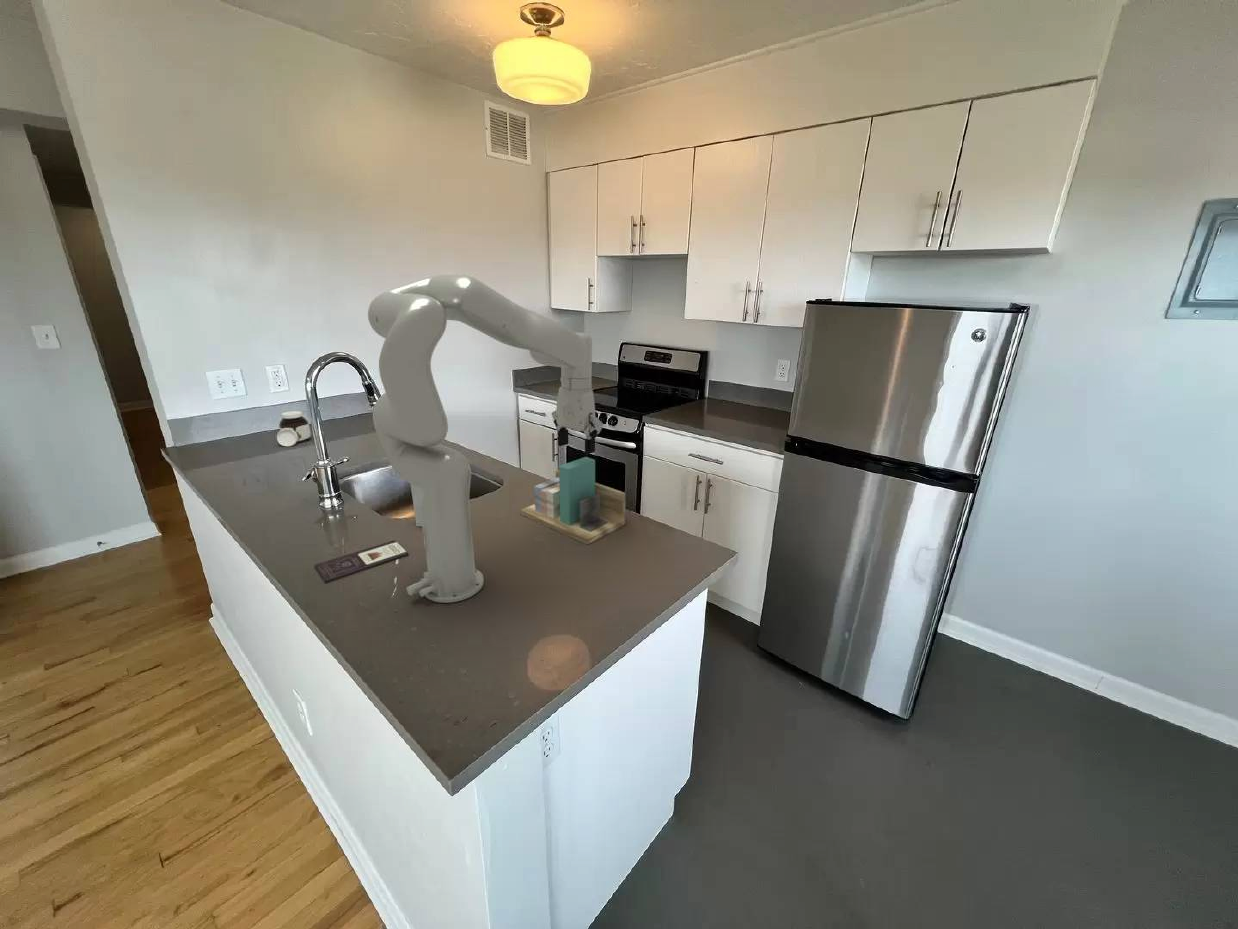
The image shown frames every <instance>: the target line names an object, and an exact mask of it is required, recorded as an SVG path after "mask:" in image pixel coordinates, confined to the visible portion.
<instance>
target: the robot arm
mask: <svg viewBox="0 0 1238 929" xmlns="http://www.w3.org/2000/svg"><path fill="white" fill-rule="evenodd" d="M367 310H368V311H367V318H368V322H369V324H370V327H371V328H372V330H373V331H374V333H376V334H377V335H379V336H380V337H382V338H384V342H383V345H382V347H381V350H380V355H379V359H378V372H379V376H380V380H381V383H382V386H383V390H384V393H383V394H381V396H379V398H378V399H377V400H376V402H375V403H374V406H373V410H372V421H373V426H374V428H375V431H376V434H377V436H378V440H379V441H380V443H381V446H382V448H383V450H384V452H385V455H386V457H387V459H388V461H389V464H390V465H391V468H392V470H393V472H394V473H395V474H396V475H397V476H398V478H400V479H402V481H405V482H407V483H409V484H410V483H411V484H413V485H415V486H417V487H419V488H421V489H422V490H423V492H424V498H423V502H422V506H421V522H422V526H421V527H422V534H423V543H424V551H425V558H426V564H427V570H426V571H425V572H423V574H422V575H423V577H422V578H420V580H419V581H418V582H415V583H413V584H410V585H409V586H406V592H407V594H408V596H413V595H415V594H418V593H419V595H420V597H425V598H426V599H428V600H429V601H433V602H436V603H444V604H445V603H456V602H457V603H458V602H459V601H460V602H461V601H464V600H466V599H469V598H471V597H473V596H474V595H475V594H477V593H478V592H479V591H481V589H482V588H483V586H484V583H485V581H484V580H485V578H484V574H483V573H482V572H481V571H480V570H478V569H477V568H476V564H475V563H476V562H475V552H474V543H473V532H472V523H471V522H472V521H471V519H472V518H471V512H470V510H471V509H470V488H471V480H472V470H471V465H470V463H469V460H468V459H467V458H466V457H465V455H464V454H462V453H461V452H460V451H458V450H456V449H454V448H452V447H449V446H446V445H443V444H441V443H442V442H443V441H444V440H445V439H446V437H447V434H448V432H449V424H448V423H449V422H448V419H447V415H446V411H445V409H444V406H443V403H442V401H441V397H440V394H439V392H438V389H437V386H436V383H435V380H434V375H433V373H432V357H433V354H434V351H435V349H436V347H437V345H438V344H439V342H440V340H441V339H442V338H443V335H444V334H445V332H446V330H447V329H446V328H447V324H448V321H456V322H460V323H462V324H465V325H466V326H468V327H470V328H472V329H475V330H476V331H479V332H481V333H482V334H484V335H486V336H489V338H491V339H493V340H496V341H497V342H499V343H502V344H504V345H506V346H510V347H513V348H516V349H517V348H518V349H521V350H522V349H523V350H527V351H529V353H530V357H531V358H532V359H533V360H534V361H535V362H536V363H538V364H540V365H543V366H549V367H556V368H561V369H560V372H561V375H560V376H561V377H560V379H559V380H560V382H561V385H560V387H559V389H558V393H557V400H556V409H555V410H554V411H552V412H551V418H552V420H553V423H554V425H555V430H556V431H557V445H558V446H559V447H563V446H566V445H568V444H569V430H573V431H576V432H583V433H584V436H585V439H584V454H585V455H589V454H590V455H591V454H593V453H595V452H596V439H597V438H598V436H599V435H600V434H601V432H602V429H603V426H604V423H603V422H602V421H601V420H600V419H599V418H598V417H597V416H596V406H595V398H594V397H595V395H594V391H593V389H592V375H593V374H592V370H593V369H592V366H593V365H592V363H593V359H592V358H593V339H592V335H590V334H588V333H586V332H578V331H573V330H572V329H570V328H568V327H567V326H565V325H564V324H562V323H559V322H558V321H555V320H553V319H551V318H549V317H546V316H544V315H541V314H539V313H537V312H535V311H532V310H531V309H530V310H529V309H527V308H525V307H523V306H521V305H519V304H517V303H515V302H514V301H512V300H510V298H507V297H506V296H504V295H503V294H501V293H499V292H497V291H496V290H495V289H493V288H491V287H490V286H488V285H487V284H485V283H483V282H482V281H480V280H479V279H477V278H475V277H472V276H470V275H465V274H464V275H463V274H462V275H460V274H439V275H433V276H431V277H430V276H429V277H428V278H424V279H421V280H418V281H415V282H413V283H410V284H406V285H403V286H401V287H397V288H394V289H390V290H388V291H385V292H382V293H380V294H378V295H377V296H375V298H374V299H372V301H371V302H370V304H369V307H368V309H367ZM411 484H410V485H411Z"/></svg>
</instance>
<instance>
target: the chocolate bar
mask: <svg viewBox="0 0 1238 929" xmlns="http://www.w3.org/2000/svg"><path fill="white" fill-rule="evenodd" d="M408 556H409V553H408V552H407V551H406V550H405V548H404V547H402V546H401V545H400V544H399V543H398V542H397V541H396V540H394V539H393V540H390V541H388V542H383V543H381V544H377V545H374V546H372V547H368V548H364V549H362V550H358V551H355V552H352V553H348V554H346V555H342V556H339V557H336V558H332V559H329V560H326V561H323V562H319V563H317V564H316V563H315V564H314V568H315V570H316V571H317V573H318V575H319V577H320V578H321V579H322V581H323V582H324V584H329V583H332V582H335V581H337V580H341V579H343V578H346V577H349V576H352V575H356V574H359V573H362V572H365V571H368V570H370V569H374V568H376V567H379V566H381V565H385V564H388V563H392V562H393V561H394V562H395V561H397V560H401V559H403V558H406V557H408Z"/></svg>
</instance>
